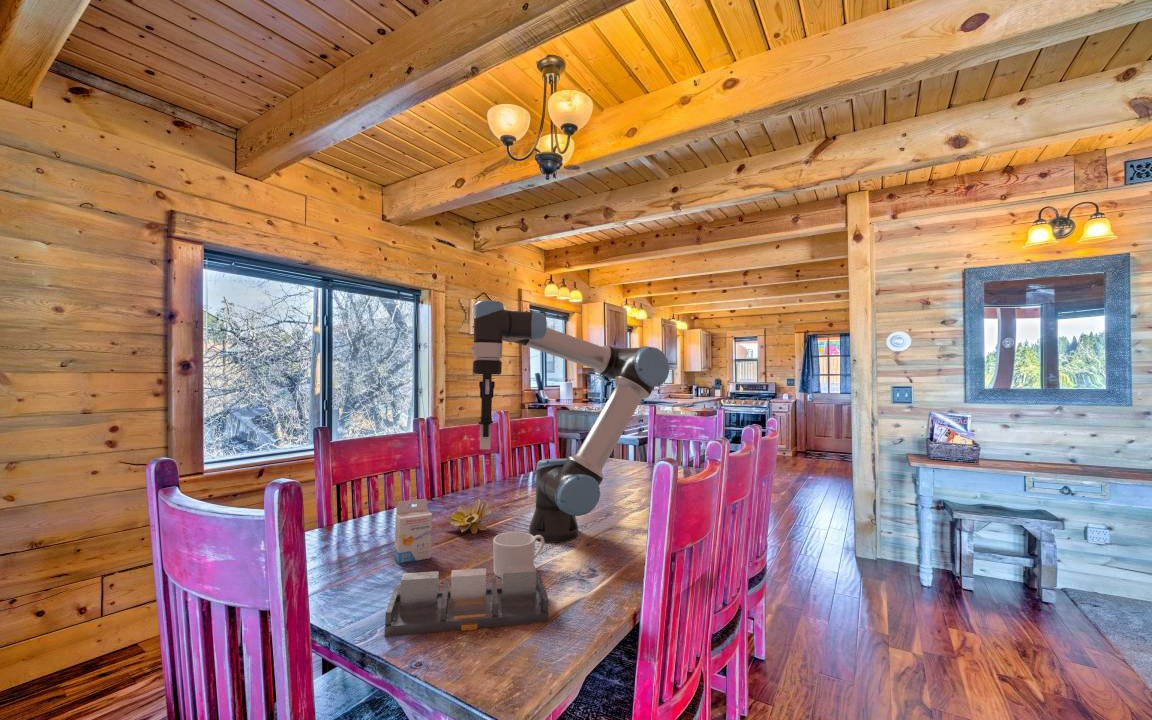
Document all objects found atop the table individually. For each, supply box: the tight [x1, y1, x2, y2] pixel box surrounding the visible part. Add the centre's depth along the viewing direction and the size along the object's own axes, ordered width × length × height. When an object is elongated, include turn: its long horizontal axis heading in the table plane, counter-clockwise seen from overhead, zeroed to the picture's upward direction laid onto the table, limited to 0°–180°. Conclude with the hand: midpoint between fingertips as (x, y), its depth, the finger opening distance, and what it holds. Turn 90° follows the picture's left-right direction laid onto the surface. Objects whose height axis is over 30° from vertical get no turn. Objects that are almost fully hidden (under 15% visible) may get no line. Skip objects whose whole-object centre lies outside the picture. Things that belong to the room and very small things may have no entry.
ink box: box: [393, 498, 433, 565], centre depth 127 cm, size 8×5×15 cm, turn 123°
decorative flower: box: [441, 499, 492, 535], centre depth 151 cm, size 15×11×10 cm
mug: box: [492, 531, 545, 579], centre depth 121 cm, size 13×10×8 cm
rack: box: [383, 565, 550, 637], centre depth 99 cm, size 31×14×8 cm, turn 102°
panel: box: [450, 567, 487, 612], centre depth 99 cm, size 7×3×7 cm, turn 102°
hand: (485, 448), depth 126 cm, fingers closed
